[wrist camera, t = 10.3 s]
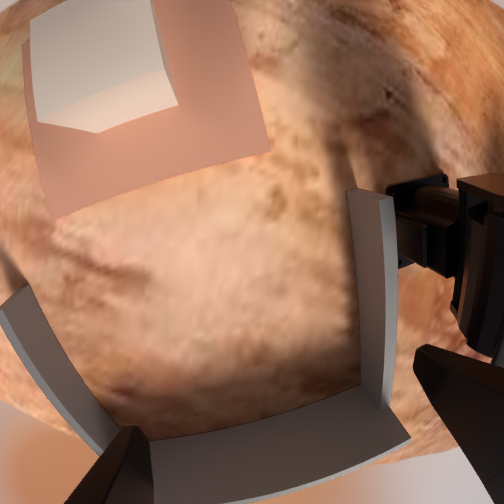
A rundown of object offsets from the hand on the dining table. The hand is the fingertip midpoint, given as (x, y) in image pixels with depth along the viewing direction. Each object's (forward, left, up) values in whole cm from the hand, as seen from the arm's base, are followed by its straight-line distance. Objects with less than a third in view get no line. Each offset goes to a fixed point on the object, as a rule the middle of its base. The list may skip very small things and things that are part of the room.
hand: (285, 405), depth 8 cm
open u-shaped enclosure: (+3, +6, -12) cm, 13 cm away
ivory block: (+3, -13, -11) cm, 17 cm away
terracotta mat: (+3, -13, -12) cm, 18 cm away
